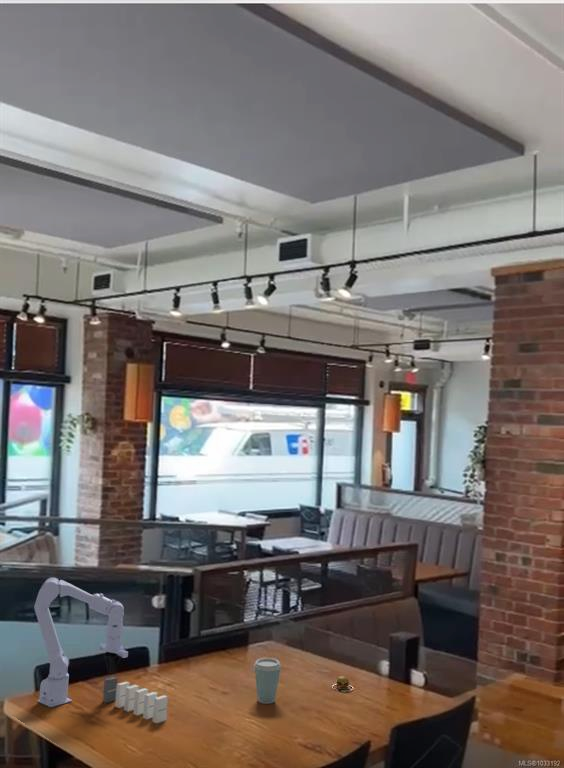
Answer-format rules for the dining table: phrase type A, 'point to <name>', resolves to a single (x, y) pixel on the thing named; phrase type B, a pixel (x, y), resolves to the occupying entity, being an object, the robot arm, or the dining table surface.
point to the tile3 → (130, 697)
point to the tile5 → (149, 705)
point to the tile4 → (139, 701)
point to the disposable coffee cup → (267, 679)
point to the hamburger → (342, 683)
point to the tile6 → (160, 709)
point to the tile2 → (121, 694)
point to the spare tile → (110, 689)
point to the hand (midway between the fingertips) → (111, 673)
